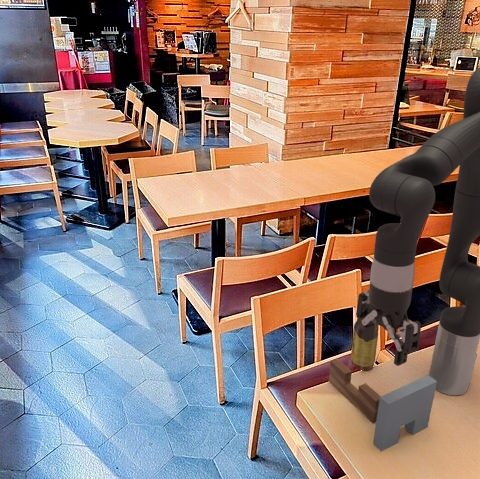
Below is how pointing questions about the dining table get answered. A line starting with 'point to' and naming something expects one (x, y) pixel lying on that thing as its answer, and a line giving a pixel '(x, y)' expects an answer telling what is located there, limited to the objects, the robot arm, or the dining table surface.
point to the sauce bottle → (363, 347)
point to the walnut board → (354, 390)
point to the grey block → (404, 411)
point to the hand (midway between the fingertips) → (383, 351)
